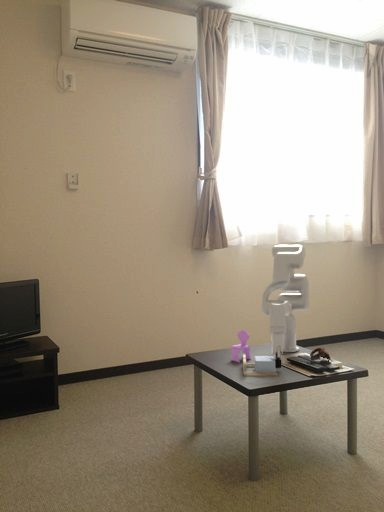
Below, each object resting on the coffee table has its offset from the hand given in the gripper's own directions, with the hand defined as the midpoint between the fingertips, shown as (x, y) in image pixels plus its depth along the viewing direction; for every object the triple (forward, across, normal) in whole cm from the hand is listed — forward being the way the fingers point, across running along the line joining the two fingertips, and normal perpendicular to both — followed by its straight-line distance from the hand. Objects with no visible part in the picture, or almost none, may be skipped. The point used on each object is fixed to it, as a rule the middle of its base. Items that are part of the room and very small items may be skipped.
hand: (277, 367), depth 225 cm
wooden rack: (+2, 0, -8) cm, 8 cm away
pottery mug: (+2, -16, +23) cm, 28 cm away
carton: (+2, 0, -6) cm, 6 cm away
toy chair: (+2, -19, -17) cm, 26 cm away
